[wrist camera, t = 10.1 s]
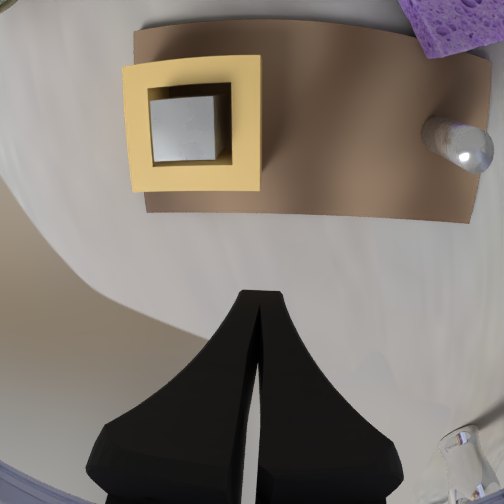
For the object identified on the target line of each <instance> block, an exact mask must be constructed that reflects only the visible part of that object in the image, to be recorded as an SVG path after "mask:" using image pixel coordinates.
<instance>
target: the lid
mask: <svg viewBox="0 0 504 504" xmlns="http://www.w3.org/2000/svg"><path fill="white" fill-rule="evenodd" d="M17 1H18V0H0V13H2V12H4V11H5V10H7V9H8V8H10V7H11V6H12V5H13V4H15V3H16V2H17Z"/></svg>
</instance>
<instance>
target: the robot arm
mask: <svg viewBox="0 0 504 504" xmlns="http://www.w3.org/2000/svg"><path fill="white" fill-rule="evenodd" d="M257 364H258V371H259V394H260V441H259V457H258V473H257V487H256V501H255V504H386V497H387V496H388V495H390V494H391V493H392V492H393V491H394V490H395V489H397V488H398V486H399V485H400V484H401V483H402V481H403V480H404V475H403V469H402V464H401V461H400V458H399V456H398V453H397V450H396V448H395V446H394V443H393V442H392V441H391V440H390V439H388V438H387V437H386V436H385V435H383V434H382V433H381V432H379V431H378V430H377V429H376V428H375V427H373V426H372V425H371V424H370V423H369V422H367V421H366V420H365V419H364V418H363V417H362V416H361V415H360V414H359V413H358V412H357V411H356V410H355V409H354V408H353V407H352V406H351V405H350V404H349V403H348V402H347V401H346V400H345V399H344V398H343V396H342V395H341V394H340V393H339V392H338V391H337V390H336V389H335V388H334V387H333V385H332V384H331V383H330V382H329V380H328V379H327V378H326V377H325V375H324V374H323V372H322V371H321V370H320V368H319V367H318V366H317V364H316V363H315V361H314V360H313V358H312V357H311V355H310V353H309V352H308V350H307V349H306V347H305V345H304V343H303V342H302V340H301V338H300V336H299V334H298V332H297V330H296V328H295V326H294V324H293V322H292V320H291V318H290V315H289V313H288V311H287V308H286V305H285V302H284V298H283V294H282V293H281V292H280V291H262V290H242V291H240V292H239V294H238V297H237V299H236V301H235V303H234V304H233V306H232V308H231V310H230V311H229V313H228V315H227V316H226V318H225V319H224V321H223V322H222V324H221V325H220V327H219V328H218V329H217V331H216V332H215V334H214V335H213V336H212V337H211V339H210V340H209V341H208V342H207V344H206V345H205V346H204V347H203V349H202V350H201V351H200V352H199V353H198V354H197V355H196V357H195V358H194V359H193V360H192V361H191V362H190V363H189V364H188V365H187V366H186V367H185V368H184V369H183V370H182V371H181V372H180V373H178V374H177V375H176V376H175V377H174V378H173V379H172V380H171V381H170V382H168V384H166V385H165V386H164V387H162V388H161V389H160V390H158V391H157V392H156V393H154V394H153V395H152V396H150V397H149V398H148V399H146V400H145V401H143V402H142V403H141V404H139V405H138V406H136V407H135V408H133V409H131V410H130V411H128V412H126V413H125V414H123V415H121V416H120V417H118V418H116V419H114V420H113V421H111V422H109V423H107V424H105V425H104V427H103V429H102V431H101V433H100V434H99V436H98V438H97V440H96V442H95V444H94V446H93V449H92V451H91V454H90V457H89V459H88V462H87V465H86V472H87V474H88V476H89V477H90V478H91V479H92V480H93V481H94V482H95V483H96V484H97V485H98V486H100V487H101V488H102V489H103V490H104V491H105V492H106V493H108V496H107V499H106V503H105V504H241V496H242V483H243V470H244V458H245V445H246V432H247V422H248V414H249V409H250V404H251V398H252V392H253V387H254V382H255V376H256V370H257ZM0 504H96V503H93V502H90V501H87V500H84V499H81V498H79V497H76V496H74V495H71V494H69V493H66V492H64V491H61V490H59V489H57V488H54V487H52V486H50V485H48V484H45V483H43V482H41V481H39V480H37V479H35V478H32V477H31V476H28V475H27V474H25V473H23V472H21V471H19V470H17V469H15V468H13V467H11V466H10V465H8V464H6V463H4V462H2V461H1V460H0ZM466 504H504V488H503V489H501V490H499V491H496V492H494V493H492V494H489V495H487V496H484V497H482V498H479V499H477V500H474V501H471V502H468V503H466Z"/></svg>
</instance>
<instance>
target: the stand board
mask: <svg viewBox="0 0 504 504" xmlns="http://www.w3.org/2000/svg"><path fill="white" fill-rule="evenodd" d="M228 55H260V56H261V58H262V175H261V184H260V191H157V192H144V197H145V204H146V211H147V213H154V212H216V213H275V214H309V215H336V216H358V217H378V218H395V219H411V220H426V221H440V222H454V223H466V224H469V223H470V219H471V215H472V211H473V206H474V202H475V198H476V193H477V188H478V183H479V178H480V173H482V172H484V171H485V170H486V169H487V168H488V167H489V166H490V164H491V162H492V159H493V155H494V146H493V142H492V139H491V137H490V136H489V134H488V133H487V126H488V116H489V105H490V90H491V61H489V60H486V59H483V58H481V57H478V56H475V55H472V54H470V53H467V52H461V53H457V54H453V55H449V56H445V57H443V58H439V57H438V58H431V59H428V58H427V57H426V55H425V53H424V51H423V49H422V47H421V45H420V43H419V41H418V39H417V38H415V37H411V36H407V35H402V34H398V33H393V32H388V31H383V30H378V29H372V28H366V27H359V26H353V25H345V24H337V23H328V22H317V21H303V20H283V19H239V20H218V21H205V22H194V23H185V24H176V25H169V26H162V27H156V28H149V29H144V30H138V31H134V65H136V64H143V63H150V62H157V61H165V60H173V59H183V58H194V57H208V56H228ZM169 96H170V98H164V99H159V100H153V101H150V110H151V126H152V139H153V152H154V162H156V161H178V160H215V159H216V158H217V156H218V155H219V154H220V152H221V151H232V102H231V83H218V84H198V85H184V86H173V87H169Z"/></svg>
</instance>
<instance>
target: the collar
mask: <svg viewBox="0 0 504 504" xmlns="http://www.w3.org/2000/svg"><path fill="white" fill-rule="evenodd" d="M122 78H123V99H124V114H125V127H126V139H127V149H128V159H129V168H130V176H131V184H132V192H157V191H260V184H261V175H262V58H261V56H260V55H228V56H208V57H194V58H183V59H173V60H165V61H157V62H150V63H143V64H136V65H130V66H125V67H122ZM218 83H231V102H232V151H221V152H220V154H219V155H218V156H217V158H216V159H215V160H178V161H156V162H154V152H153V139H152V126H151V110H150V101H153V100H159V99H164V98H170V96H169V87H173V86H184V85H198V84H218Z"/></svg>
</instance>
